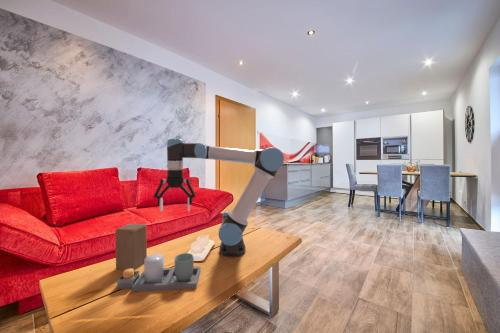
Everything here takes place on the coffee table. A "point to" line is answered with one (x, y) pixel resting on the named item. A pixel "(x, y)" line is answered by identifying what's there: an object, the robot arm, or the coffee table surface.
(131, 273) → the button
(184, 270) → the cup
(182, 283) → the grey divided tray
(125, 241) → the wooden block
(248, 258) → the coffee table surface
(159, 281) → the billet
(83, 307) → the coffee table surface
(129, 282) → the button housing
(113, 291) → the coffee table surface
